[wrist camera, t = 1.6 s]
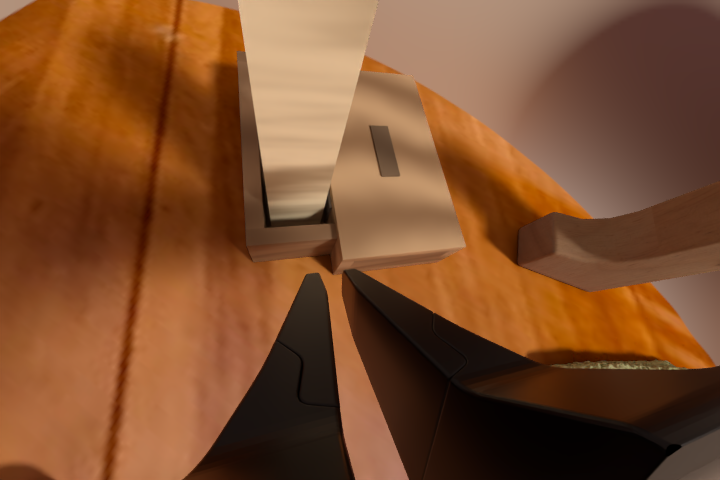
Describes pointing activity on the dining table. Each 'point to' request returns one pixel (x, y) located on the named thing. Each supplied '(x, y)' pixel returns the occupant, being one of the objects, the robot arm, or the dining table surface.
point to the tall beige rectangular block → (302, 94)
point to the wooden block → (627, 243)
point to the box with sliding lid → (362, 186)
